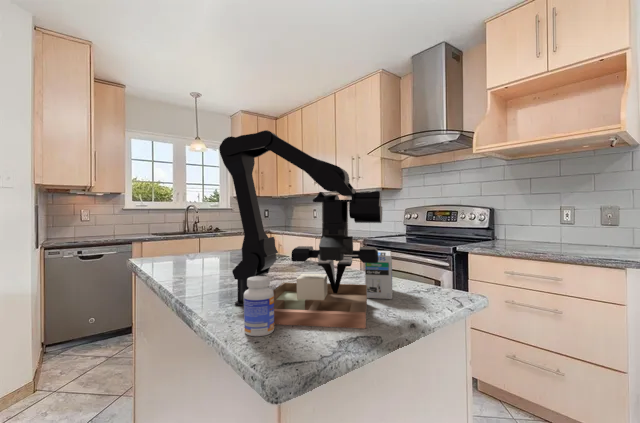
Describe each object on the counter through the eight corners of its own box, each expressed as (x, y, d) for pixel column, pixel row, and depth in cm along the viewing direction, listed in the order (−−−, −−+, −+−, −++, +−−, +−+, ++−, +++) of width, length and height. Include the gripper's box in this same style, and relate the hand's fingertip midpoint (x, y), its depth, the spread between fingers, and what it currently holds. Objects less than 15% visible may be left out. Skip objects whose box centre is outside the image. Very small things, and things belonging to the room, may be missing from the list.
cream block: (296, 299, 72) (296, 278, 72) (302, 292, 78) (301, 273, 78) (324, 300, 71) (323, 279, 71) (327, 293, 77) (327, 274, 77)
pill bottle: (276, 335, 58) (276, 279, 58) (245, 338, 57) (244, 282, 57) (271, 324, 64) (271, 274, 64) (243, 328, 62) (242, 276, 62)
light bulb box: (392, 299, 80) (392, 255, 80) (364, 298, 82) (364, 254, 82) (392, 289, 91) (391, 250, 91) (367, 288, 92) (367, 249, 92)
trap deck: (261, 323, 64) (261, 300, 64) (283, 301, 80) (282, 282, 80) (365, 328, 61) (365, 304, 61) (366, 303, 77) (366, 284, 77)
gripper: (284, 224, 67) (285, 301, 67) (378, 224, 64) (378, 305, 64) (297, 222, 78) (297, 288, 78) (377, 222, 75) (377, 291, 75)
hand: (335, 293), depth 74 cm, fingers closed
